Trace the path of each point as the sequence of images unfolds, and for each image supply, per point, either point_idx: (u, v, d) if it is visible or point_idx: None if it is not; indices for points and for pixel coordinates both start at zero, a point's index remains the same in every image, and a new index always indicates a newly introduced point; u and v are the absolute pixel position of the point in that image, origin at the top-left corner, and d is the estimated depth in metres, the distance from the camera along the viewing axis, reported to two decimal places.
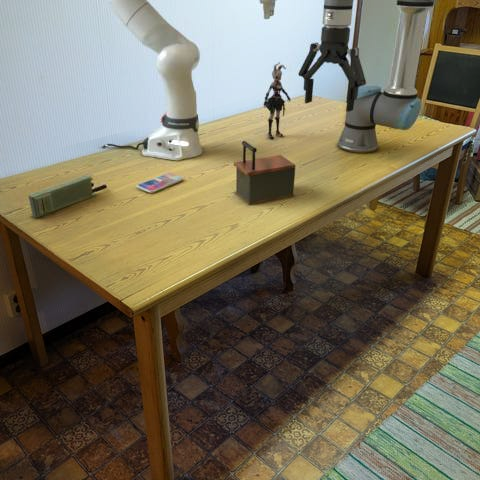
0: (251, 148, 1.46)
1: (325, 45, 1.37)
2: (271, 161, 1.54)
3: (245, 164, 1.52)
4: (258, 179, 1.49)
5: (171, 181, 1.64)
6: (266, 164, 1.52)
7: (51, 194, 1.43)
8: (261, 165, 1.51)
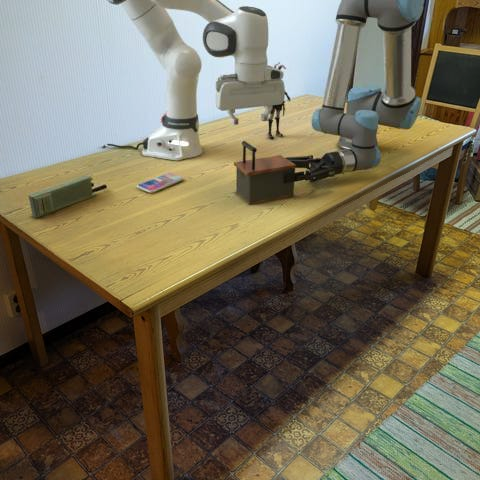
0: (251, 148, 1.46)
1: None
2: (271, 161, 1.54)
3: (245, 164, 1.52)
4: (258, 179, 1.49)
5: (171, 181, 1.64)
6: (266, 164, 1.52)
7: (51, 194, 1.43)
8: (261, 165, 1.51)
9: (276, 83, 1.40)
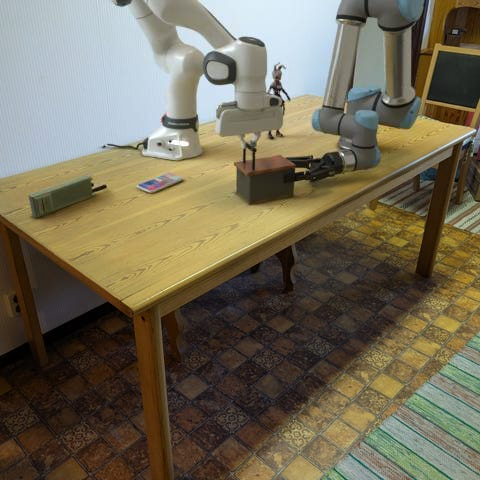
0: (251, 148, 1.46)
1: None
2: (271, 161, 1.54)
3: (245, 164, 1.52)
4: (258, 179, 1.49)
5: (171, 181, 1.64)
6: (266, 164, 1.52)
7: (51, 194, 1.43)
8: (261, 165, 1.51)
9: (275, 110, 1.44)
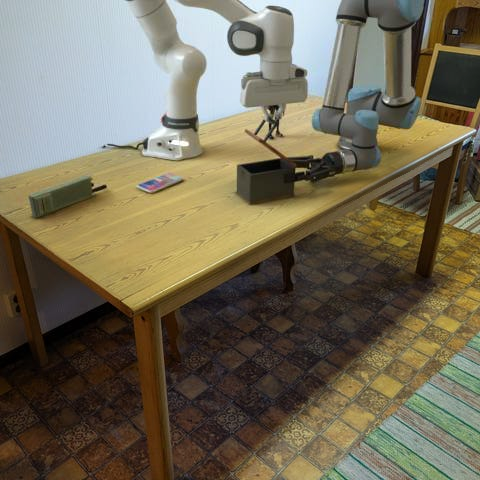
0: (275, 121, 1.45)
1: None
2: None
3: None
4: (259, 179, 1.49)
5: (171, 181, 1.64)
6: None
7: (51, 194, 1.43)
8: None
9: (300, 81, 1.43)
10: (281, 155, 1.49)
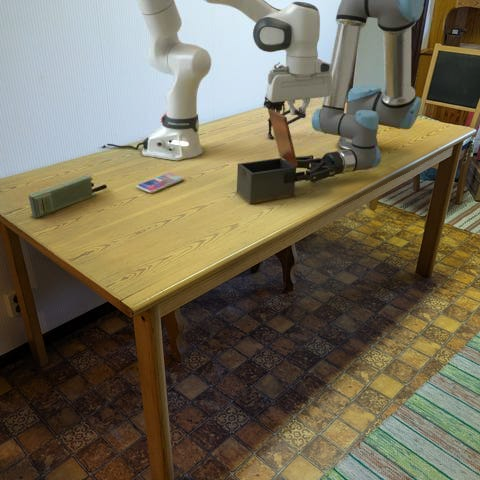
0: (302, 112, 1.47)
1: None
2: None
3: None
4: (260, 178, 1.49)
5: (171, 181, 1.64)
6: None
7: (51, 194, 1.43)
8: None
9: (325, 76, 1.45)
10: (292, 146, 1.49)
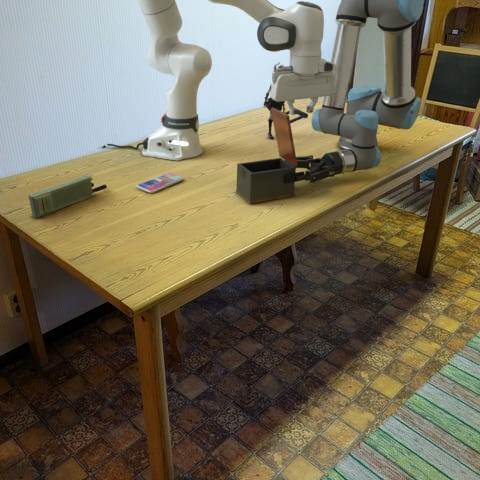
0: None
1: None
2: None
3: None
4: (259, 178, 1.49)
5: (171, 181, 1.64)
6: None
7: (51, 194, 1.43)
8: None
9: (328, 75, 1.46)
10: (292, 146, 1.49)
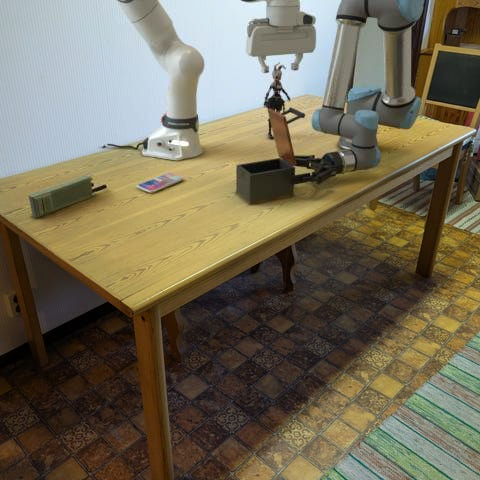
0: None
1: None
2: None
3: None
4: (259, 179, 1.49)
5: (171, 181, 1.64)
6: None
7: (51, 194, 1.43)
8: None
9: (308, 29, 1.37)
10: (291, 146, 1.49)
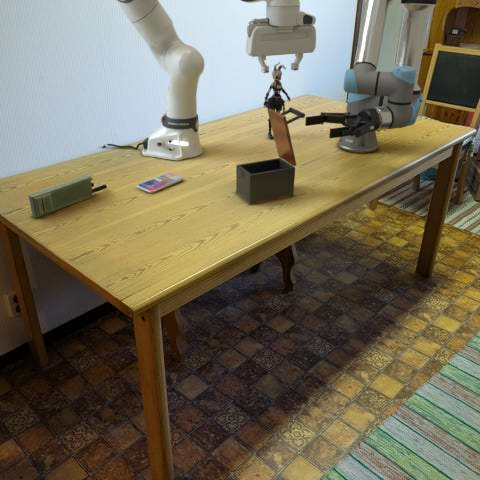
0: None
1: None
2: None
3: None
4: (258, 179, 1.49)
5: (171, 181, 1.64)
6: None
7: (51, 194, 1.43)
8: None
9: (308, 29, 1.37)
10: (291, 146, 1.49)
